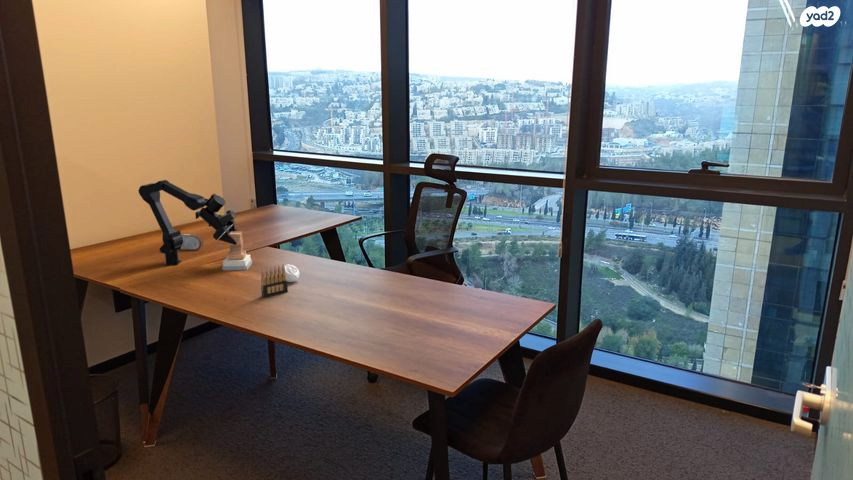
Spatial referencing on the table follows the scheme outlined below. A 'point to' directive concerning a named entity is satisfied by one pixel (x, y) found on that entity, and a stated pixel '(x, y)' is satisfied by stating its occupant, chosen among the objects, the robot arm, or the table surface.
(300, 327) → the table surface
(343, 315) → the table surface
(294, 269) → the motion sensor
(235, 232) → the pillar
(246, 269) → the tower base
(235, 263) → the white square slab
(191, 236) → the tin
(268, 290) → the ammunition clip
